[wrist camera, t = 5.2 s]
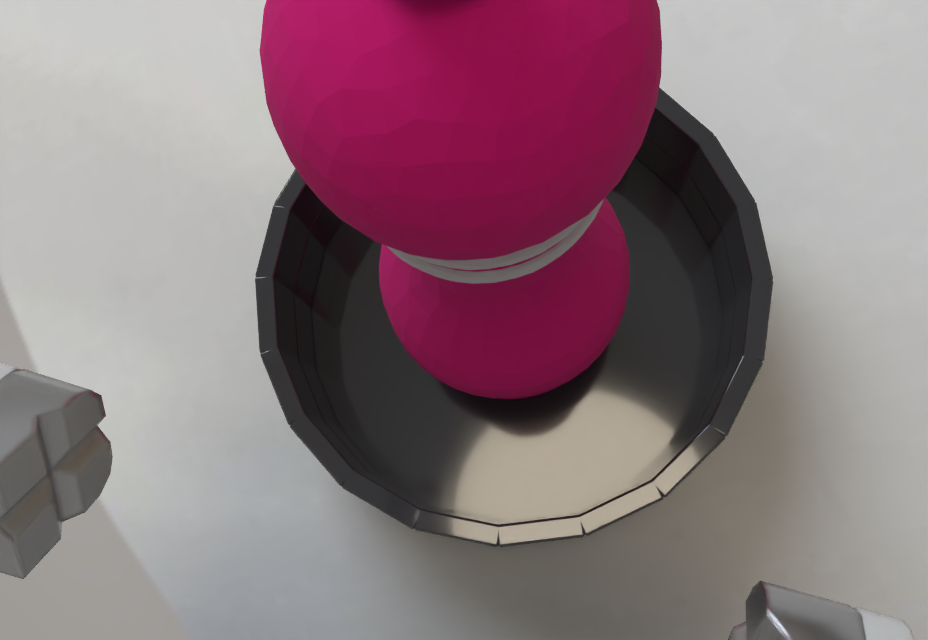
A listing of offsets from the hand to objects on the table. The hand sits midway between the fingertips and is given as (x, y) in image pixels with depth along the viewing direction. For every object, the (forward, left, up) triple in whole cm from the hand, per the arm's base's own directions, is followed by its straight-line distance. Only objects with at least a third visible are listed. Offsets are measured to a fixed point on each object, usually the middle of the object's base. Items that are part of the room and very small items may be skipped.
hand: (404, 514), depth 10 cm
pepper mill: (+7, +1, -17) cm, 18 cm away
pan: (+7, +1, -18) cm, 19 cm away
